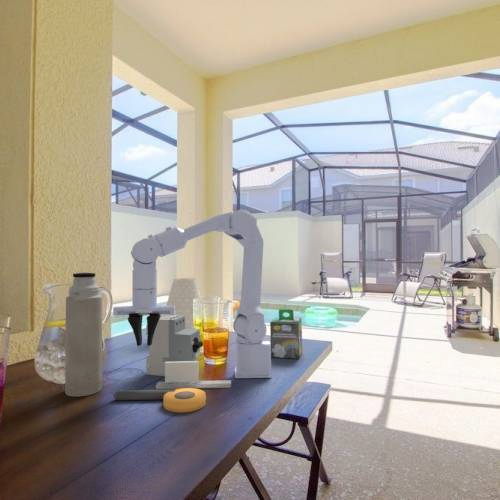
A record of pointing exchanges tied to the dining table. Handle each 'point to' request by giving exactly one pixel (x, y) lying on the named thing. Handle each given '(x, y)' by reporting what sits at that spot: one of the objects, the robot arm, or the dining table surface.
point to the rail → (194, 384)
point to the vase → (184, 298)
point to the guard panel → (181, 371)
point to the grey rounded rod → (141, 394)
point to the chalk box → (286, 335)
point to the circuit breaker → (172, 344)
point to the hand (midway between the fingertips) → (144, 344)
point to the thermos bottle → (83, 337)
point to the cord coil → (184, 400)
